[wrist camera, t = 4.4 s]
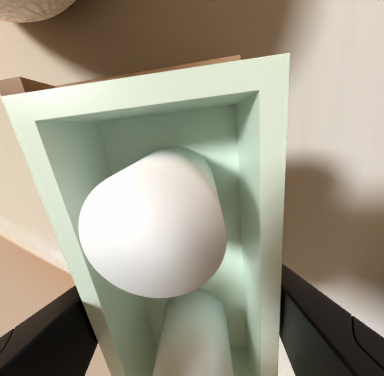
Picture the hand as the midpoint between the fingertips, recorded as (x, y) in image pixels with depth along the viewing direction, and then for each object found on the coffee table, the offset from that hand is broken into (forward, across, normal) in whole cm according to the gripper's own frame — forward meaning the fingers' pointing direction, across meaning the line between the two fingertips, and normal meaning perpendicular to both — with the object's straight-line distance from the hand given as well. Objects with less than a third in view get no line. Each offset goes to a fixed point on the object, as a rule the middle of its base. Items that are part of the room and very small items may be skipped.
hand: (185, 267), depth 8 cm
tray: (+1, 0, 0) cm, 1 cm away
